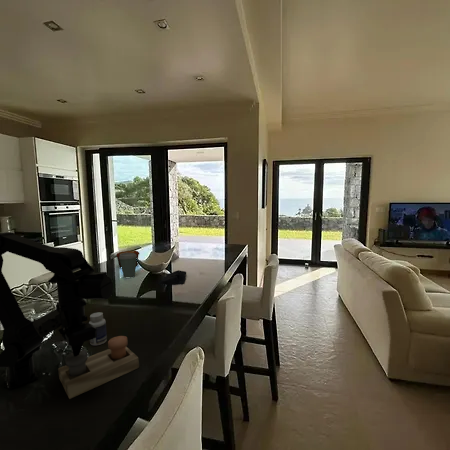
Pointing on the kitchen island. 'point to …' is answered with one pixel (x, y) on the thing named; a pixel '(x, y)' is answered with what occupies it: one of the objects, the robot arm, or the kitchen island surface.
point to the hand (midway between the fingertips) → (76, 355)
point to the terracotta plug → (118, 347)
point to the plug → (76, 363)
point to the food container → (126, 252)
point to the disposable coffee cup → (128, 264)
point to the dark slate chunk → (174, 278)
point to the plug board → (97, 372)
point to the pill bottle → (98, 328)
